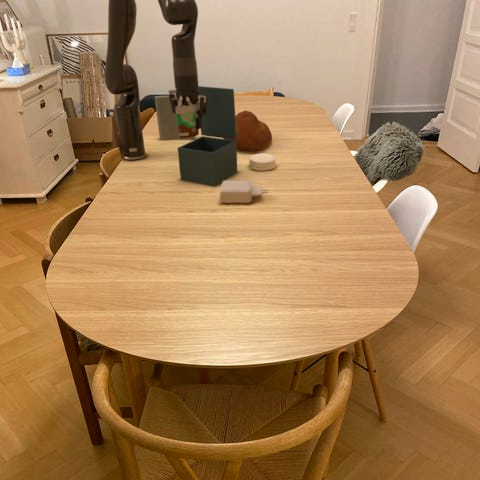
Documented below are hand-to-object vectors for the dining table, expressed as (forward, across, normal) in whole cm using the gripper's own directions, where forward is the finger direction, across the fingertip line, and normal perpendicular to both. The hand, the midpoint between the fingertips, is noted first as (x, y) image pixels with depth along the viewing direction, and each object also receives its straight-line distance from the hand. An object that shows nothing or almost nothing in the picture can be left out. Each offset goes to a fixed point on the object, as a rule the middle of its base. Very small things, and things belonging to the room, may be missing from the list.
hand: (190, 127), depth 159 cm
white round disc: (+18, -16, -22) cm, 32 cm away
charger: (+18, -26, +8) cm, 32 cm away
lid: (-2, -3, -11) cm, 12 cm away
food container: (+2, -1, 0) cm, 2 cm away
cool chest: (+18, -3, -4) cm, 18 cm away
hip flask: (+18, +36, -39) cm, 56 cm away
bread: (+18, +4, -46) cm, 50 cm away
